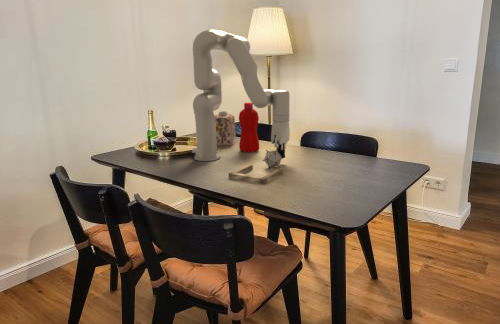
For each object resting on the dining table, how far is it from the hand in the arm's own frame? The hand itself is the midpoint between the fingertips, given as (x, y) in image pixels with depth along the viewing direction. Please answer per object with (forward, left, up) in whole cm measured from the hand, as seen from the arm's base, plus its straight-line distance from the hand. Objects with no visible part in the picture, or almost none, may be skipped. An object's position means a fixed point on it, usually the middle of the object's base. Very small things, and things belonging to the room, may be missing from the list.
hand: (281, 157), depth 185 cm
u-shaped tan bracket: (0, -21, -3) cm, 21 cm away
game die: (0, -8, -3) cm, 8 cm away
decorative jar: (-48, +22, -3) cm, 53 cm away
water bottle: (-25, +13, -3) cm, 28 cm away
